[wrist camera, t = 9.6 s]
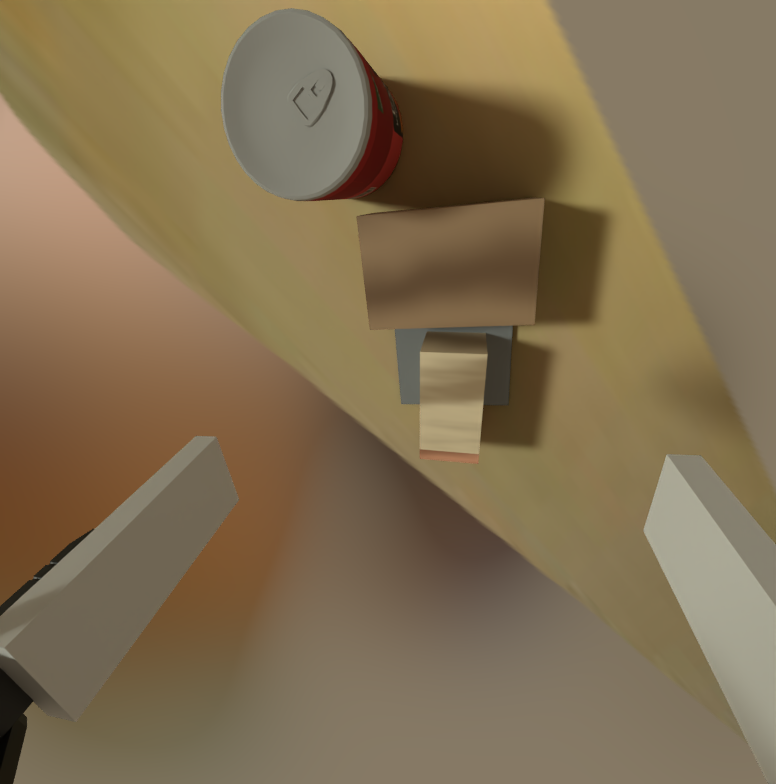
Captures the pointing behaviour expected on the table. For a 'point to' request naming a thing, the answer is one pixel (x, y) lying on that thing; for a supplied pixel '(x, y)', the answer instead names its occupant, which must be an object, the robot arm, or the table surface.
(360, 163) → the canned food
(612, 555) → the table surface
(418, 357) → the mat
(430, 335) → the block
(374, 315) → the step
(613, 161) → the table surface
